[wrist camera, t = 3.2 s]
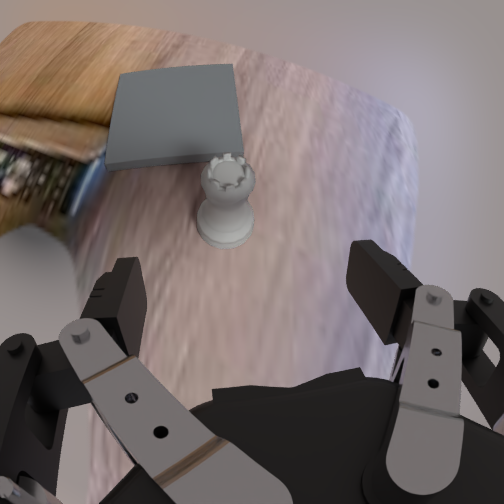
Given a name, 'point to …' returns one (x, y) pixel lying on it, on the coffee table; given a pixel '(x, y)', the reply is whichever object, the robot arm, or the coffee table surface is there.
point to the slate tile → (174, 117)
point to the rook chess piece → (226, 202)
